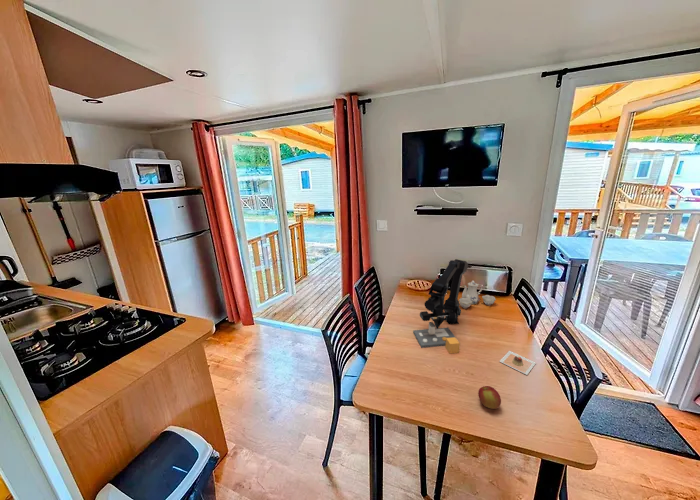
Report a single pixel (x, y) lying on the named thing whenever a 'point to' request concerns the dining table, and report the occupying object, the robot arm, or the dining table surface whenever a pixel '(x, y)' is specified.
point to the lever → (431, 328)
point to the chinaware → (474, 296)
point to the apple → (489, 397)
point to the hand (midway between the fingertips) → (436, 328)
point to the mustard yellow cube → (452, 345)
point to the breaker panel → (433, 337)
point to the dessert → (518, 361)
